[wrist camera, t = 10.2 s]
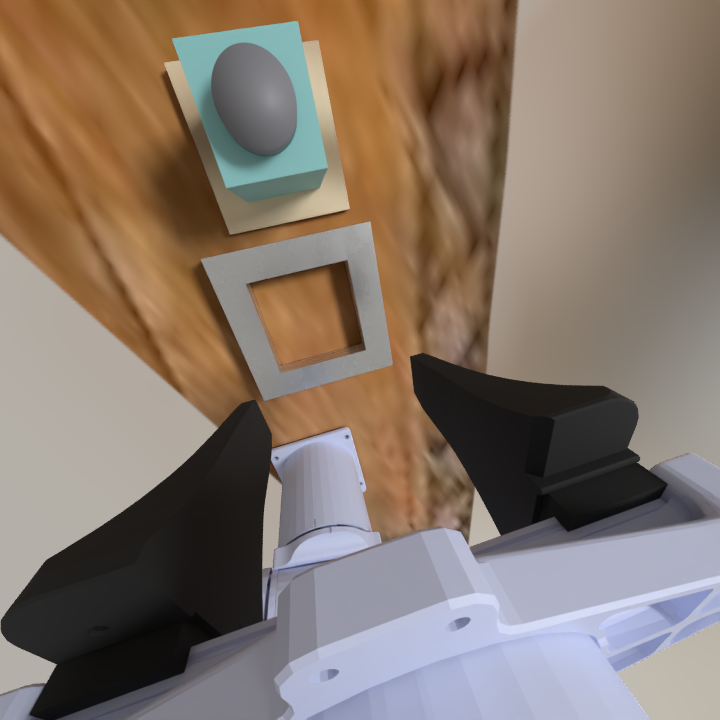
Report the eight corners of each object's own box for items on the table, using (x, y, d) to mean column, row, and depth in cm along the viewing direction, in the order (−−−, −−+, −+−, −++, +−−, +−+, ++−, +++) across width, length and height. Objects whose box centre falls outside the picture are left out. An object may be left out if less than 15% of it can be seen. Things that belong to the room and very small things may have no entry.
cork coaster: (348, 209, 18) (349, 208, 18) (231, 234, 17) (230, 234, 17) (317, 46, 15) (318, 40, 14) (168, 68, 14) (163, 62, 13)
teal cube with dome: (319, 187, 17) (330, 162, 11) (247, 202, 16) (220, 183, 11) (298, 92, 15) (297, -1, 9) (215, 105, 14) (158, 18, 9)
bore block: (387, 357, 24) (392, 364, 22) (266, 391, 23) (264, 401, 21) (365, 222, 19) (370, 221, 17) (208, 257, 18) (200, 259, 16)
